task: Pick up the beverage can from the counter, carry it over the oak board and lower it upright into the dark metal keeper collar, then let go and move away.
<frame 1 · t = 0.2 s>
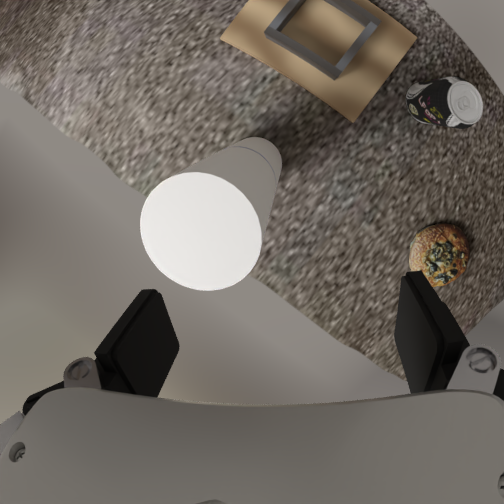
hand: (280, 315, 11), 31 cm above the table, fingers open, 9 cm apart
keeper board: (321, 32, 30), on the table
cylindrical container: (255, 163, 39), on the table
beverage can: (422, 102, 32), on the table
bread roll: (436, 253, 41), on the table
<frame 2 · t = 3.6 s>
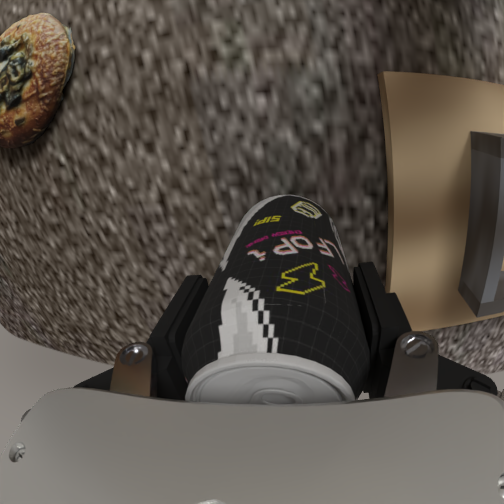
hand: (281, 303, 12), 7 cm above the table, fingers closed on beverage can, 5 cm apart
beverage can: (287, 237, 18), on the table, touching gripper
bread roll: (30, 77, 15), on the table
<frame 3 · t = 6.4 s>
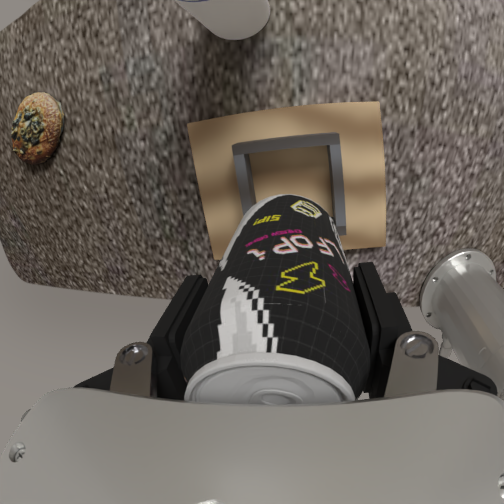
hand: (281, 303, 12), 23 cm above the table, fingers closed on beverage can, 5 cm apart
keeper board: (292, 181, 32), on the table
cylindrical container: (236, 12, 25), on the table
beverage can: (287, 237, 18), point 16 cm above the table, touching gripper
bread roll: (41, 125, 33), on the table
when the fingers open (9 cm above the table, at t = 9.0 s): beverage can drops 1 cm, resting on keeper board.
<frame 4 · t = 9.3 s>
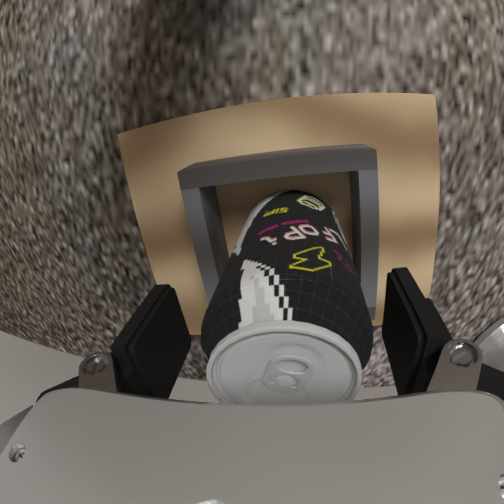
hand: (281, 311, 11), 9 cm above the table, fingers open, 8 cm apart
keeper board: (288, 224, 20), on the table
beverage can: (293, 230, 19), point 1 cm above the table, touching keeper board
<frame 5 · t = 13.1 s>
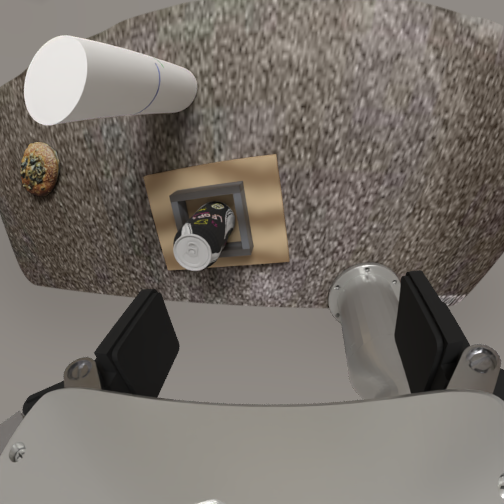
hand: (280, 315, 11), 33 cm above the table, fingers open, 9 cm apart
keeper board: (217, 215, 46), on the table
cylindrical container: (174, 89, 38), on the table
beverage can: (217, 217, 45), point 1 cm above the table, touching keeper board
bread roll: (43, 166, 46), on the table
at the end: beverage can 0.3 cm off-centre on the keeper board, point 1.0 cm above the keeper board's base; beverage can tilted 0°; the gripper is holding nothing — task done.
